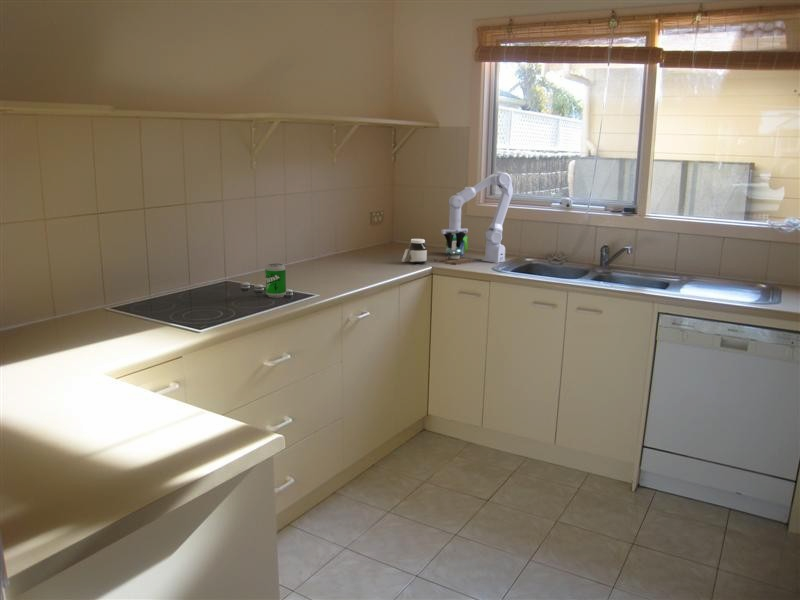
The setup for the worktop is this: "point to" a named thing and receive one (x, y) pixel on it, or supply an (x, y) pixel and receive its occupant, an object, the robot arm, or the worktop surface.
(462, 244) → the snack cup
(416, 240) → the spread jar
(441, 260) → the base plate
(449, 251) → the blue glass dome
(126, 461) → the worktop surface
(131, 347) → the worktop surface
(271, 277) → the soda can
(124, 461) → the worktop surface
